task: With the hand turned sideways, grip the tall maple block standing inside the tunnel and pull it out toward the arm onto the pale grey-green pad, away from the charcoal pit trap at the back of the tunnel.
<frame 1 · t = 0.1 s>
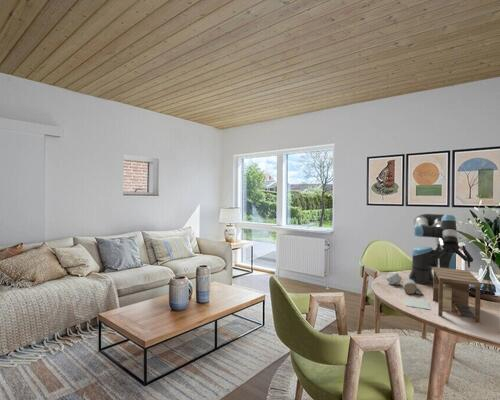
hand: (452, 271, 170), 15 cm above the table, tool tilted 35°, fingers open, 13 cm apart
grey rock: (393, 284, 195), on the table
tunnel: (453, 310, 152), on the table
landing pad: (416, 304, 159), on the table
maple block: (444, 308, 153), on the table
ceramic mug: (412, 293, 178), on the table
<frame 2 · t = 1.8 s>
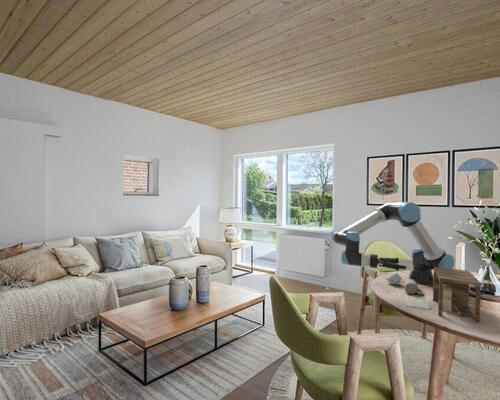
hand: (412, 265, 160), 21 cm above the table, tool horizontal, fingers open, 13 cm apart
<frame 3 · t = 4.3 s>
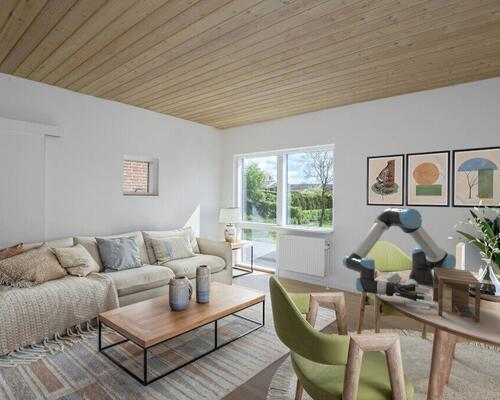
hand: (430, 294, 156), 6 cm above the table, tool horizontal, fingers open, 13 cm apart
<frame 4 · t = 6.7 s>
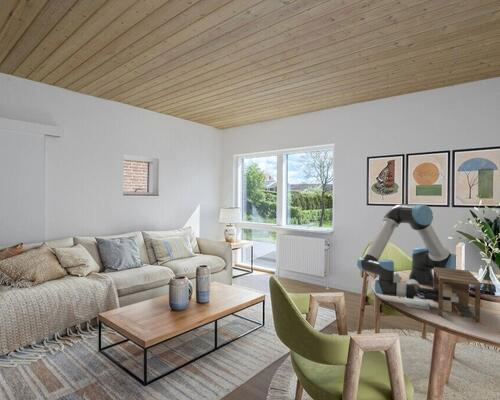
hand: (457, 297, 151), 7 cm above the table, tool horizontal, fingers closed on maple block, 5 cm apart
maple block: (444, 308, 153), on the table, touching gripper
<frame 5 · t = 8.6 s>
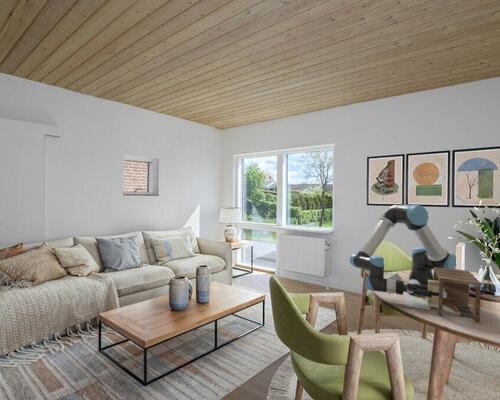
hand: (445, 293, 153), 8 cm above the table, tool horizontal, fingers closed on maple block, 5 cm apart
maple block: (433, 304, 155), point 2 cm above the table, touching gripper
when the fingers open (7 cm above the table, at t = 10.6 s): maple block stays where it is, resting on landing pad.
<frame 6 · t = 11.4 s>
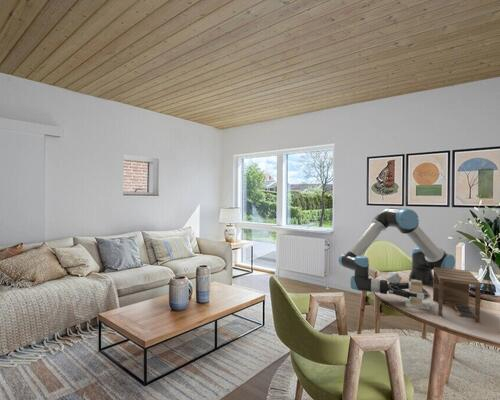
hand: (423, 292, 157), 7 cm above the table, tool horizontal, fingers open, 13 cm apart
maple block: (415, 303, 159), resting on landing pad
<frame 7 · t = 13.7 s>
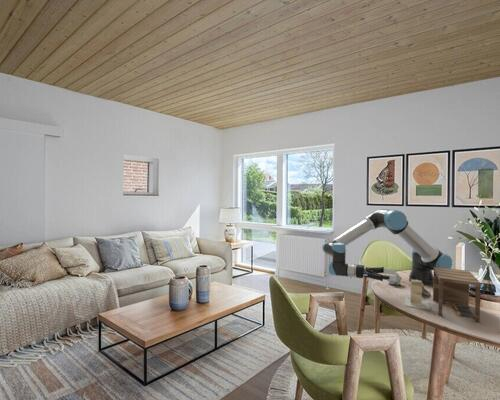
hand: (396, 275, 165), 14 cm above the table, tool horizontal, fingers open, 13 cm apart
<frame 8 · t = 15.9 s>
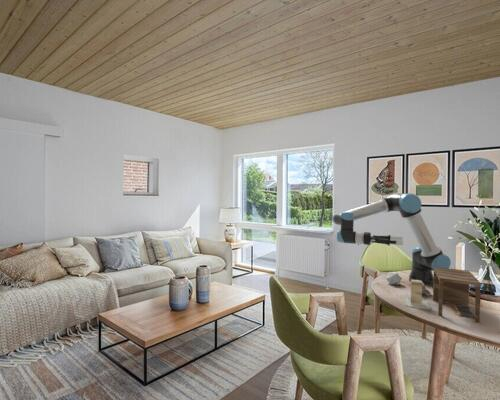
hand: (402, 241, 171), 32 cm above the table, tool horizontal, fingers open, 13 cm apart
at the end: maple block inside the target area (0.5 cm from its centre), resting on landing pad; maple block tilted 0°; the gripper is holding nothing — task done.
